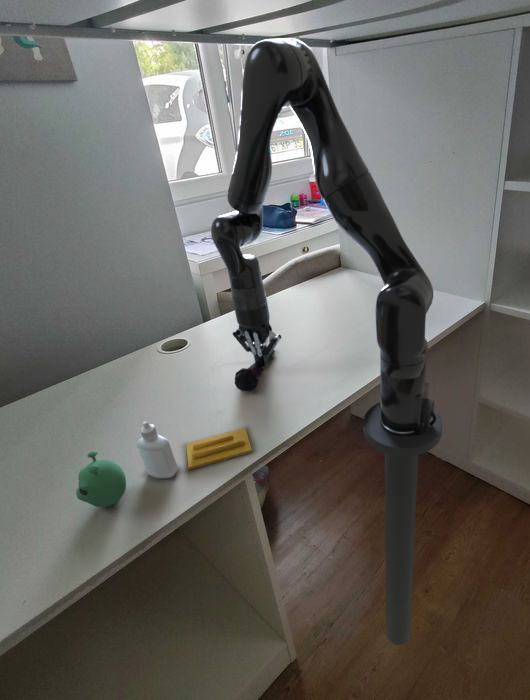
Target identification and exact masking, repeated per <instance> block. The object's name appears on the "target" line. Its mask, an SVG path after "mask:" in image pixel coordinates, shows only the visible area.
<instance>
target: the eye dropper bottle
mask: <svg viewBox="0 0 530 700" xmlns="http://www.w3.org/2000/svg"><path fill="white" fill-rule="evenodd" d="M142 423H143V426H141V428H140V435H141V437H140V438H139V440H138V441H137V443H136V445H137V449H138V451H139V454H140V458H141V460H142V462H143V465H144V468H145V470H146V473H147V474H148V475H149V476H151V477H153V478H154V479H155V478H156V479H171V478H173V477H174V476H175V475H176V473H177V472H178V470H179V468H178V465H177V462H176V458H175V455H174V453H173V450H172V446H171V443H170V442H169V440H168V439H167V438H166V437H164V436H162V435H160V434H158V432H157V428H156V426H155V425H154V424H152V423H149V422H148V421H147V420H144V421H143V422H142Z"/></svg>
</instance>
